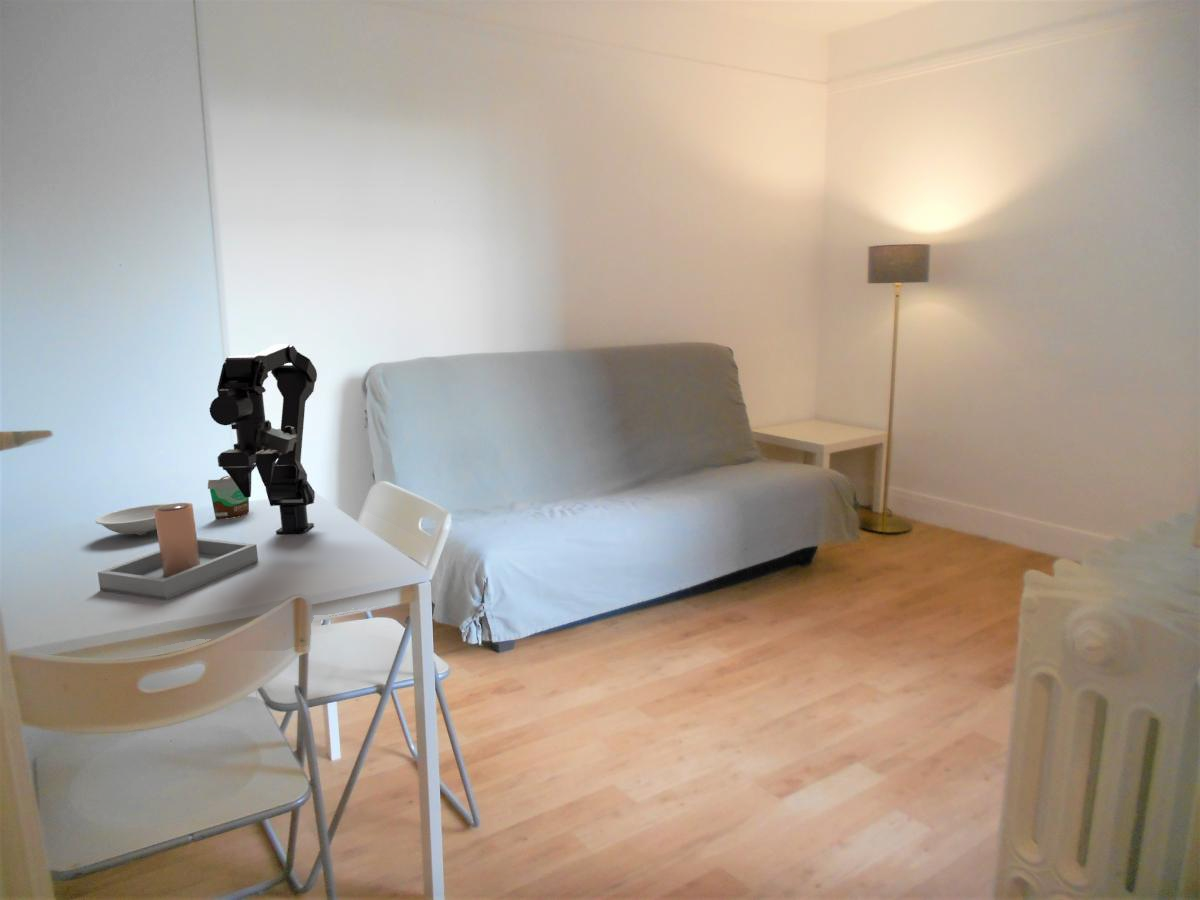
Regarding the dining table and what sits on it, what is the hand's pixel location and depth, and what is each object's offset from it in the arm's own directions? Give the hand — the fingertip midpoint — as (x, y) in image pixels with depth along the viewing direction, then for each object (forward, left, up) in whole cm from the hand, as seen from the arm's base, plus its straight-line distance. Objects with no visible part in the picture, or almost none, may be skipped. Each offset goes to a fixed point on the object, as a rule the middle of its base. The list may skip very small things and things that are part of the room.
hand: (258, 491), depth 173 cm
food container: (-30, -20, -13) cm, 38 cm away
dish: (-14, -35, -13) cm, 40 cm away
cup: (+14, -10, -12) cm, 21 cm away
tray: (+14, -10, -13) cm, 22 cm away
